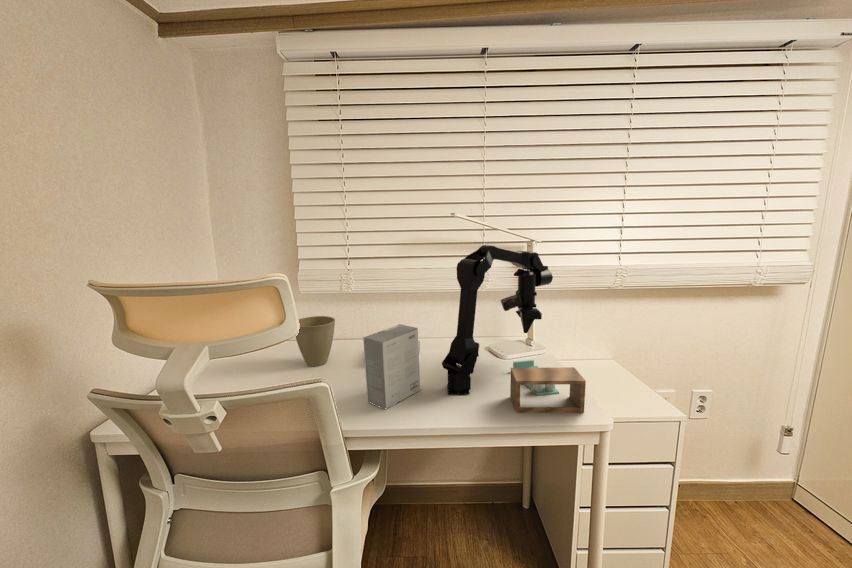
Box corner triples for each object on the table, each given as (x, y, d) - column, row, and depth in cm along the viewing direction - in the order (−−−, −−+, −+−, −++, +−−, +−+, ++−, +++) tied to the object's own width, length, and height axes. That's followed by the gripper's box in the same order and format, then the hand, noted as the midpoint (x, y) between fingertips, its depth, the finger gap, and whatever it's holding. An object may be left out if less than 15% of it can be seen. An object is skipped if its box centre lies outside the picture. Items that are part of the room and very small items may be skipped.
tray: (513, 372, 132) (513, 358, 131) (532, 370, 133) (532, 357, 132) (536, 397, 114) (537, 381, 113) (559, 394, 115) (559, 378, 114)
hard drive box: (402, 384, 124) (400, 323, 120) (421, 390, 119) (419, 327, 116) (366, 402, 112) (362, 336, 109) (384, 410, 107) (381, 341, 104)
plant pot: (341, 365, 140) (339, 323, 137) (298, 373, 134) (295, 329, 131) (332, 352, 153) (330, 313, 150) (293, 359, 147) (289, 318, 144)
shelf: (515, 412, 105) (516, 381, 103) (510, 396, 114) (510, 367, 112) (584, 412, 104) (585, 380, 102) (572, 396, 113) (574, 367, 111)
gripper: (498, 283, 141) (498, 325, 144) (506, 294, 123) (506, 341, 125) (529, 283, 140) (528, 325, 143) (542, 293, 122) (541, 341, 125)
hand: (525, 332), depth 134 cm, fingers closed
